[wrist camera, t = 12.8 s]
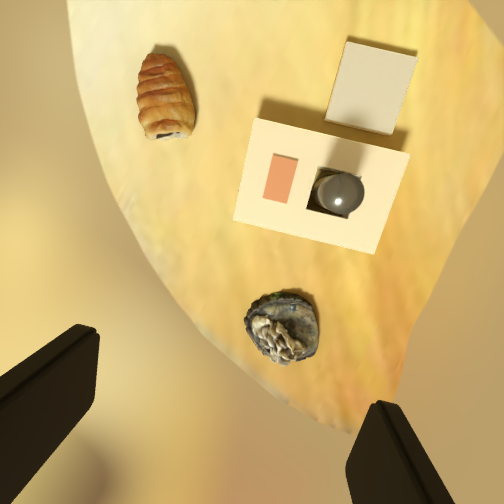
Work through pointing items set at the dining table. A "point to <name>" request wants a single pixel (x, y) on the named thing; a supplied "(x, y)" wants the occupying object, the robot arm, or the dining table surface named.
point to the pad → (370, 88)
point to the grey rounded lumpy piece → (283, 327)
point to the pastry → (164, 100)
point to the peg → (339, 193)
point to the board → (301, 180)
